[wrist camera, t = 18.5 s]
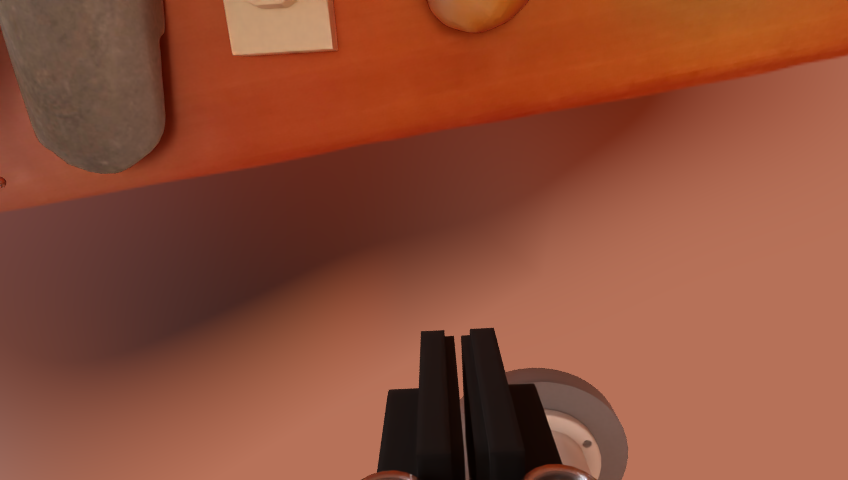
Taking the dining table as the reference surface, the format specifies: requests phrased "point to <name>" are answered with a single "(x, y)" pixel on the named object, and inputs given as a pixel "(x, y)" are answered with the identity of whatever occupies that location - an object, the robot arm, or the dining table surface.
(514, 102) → the dining table surface
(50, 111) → the stone
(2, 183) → the striped bug figure
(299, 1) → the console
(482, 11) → the fruit
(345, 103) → the dining table surface
